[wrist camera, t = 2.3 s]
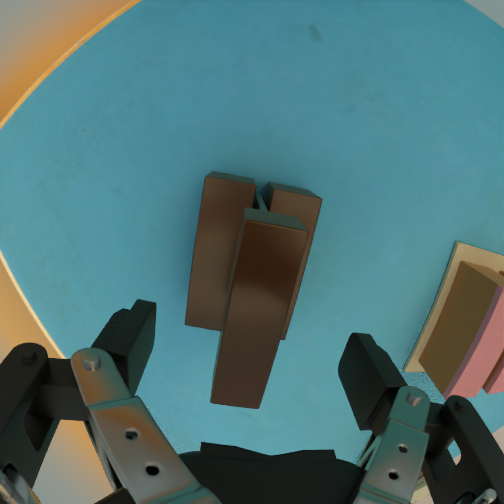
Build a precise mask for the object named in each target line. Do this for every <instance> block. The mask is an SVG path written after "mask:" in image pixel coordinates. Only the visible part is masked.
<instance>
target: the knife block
mask: <svg viewBox="0 0 504 504" xmlns="http://www.w3.org/2000/svg"><path fill="white" fill-rule="evenodd" d="M255 191H256V183H255V180H254V179H253V178H248V177H242V176H237V175H231V174H226V173H220V172H214V171H212V172H211V173H209V174H208V175H207V176H206V177H205V182H204V188H203V194H202V200H201V206H200V212H199V219H198V225H197V232H196V238H195V245H194V252H193V260H192V267H191V275H190V282H189V290H188V299H187V307H186V316H185V325H188V326H193V327H199V328H205V329H210V330H216V331H221V326H222V320H223V315H224V309H225V304H226V298H227V292H228V287H229V282H230V276H231V271H232V265H233V260H234V255H235V249H236V244H237V239H238V233H239V228H240V223H241V218H242V212H243V209H244V208H245V207H247V208H252V206H253V201H254V196H255ZM264 203H265V205H266V208H267V210H268V212H273V213H279V214H284V215H289V216H294V217H297V218H299V220H300V221H301V222H302V223H303V225H304V226H305V227H306V229H307V230H308V231H309V235H308V239H307V243H306V247H305V251H304V255H303V259H302V263H301V267H300V270H299V274H298V278H297V282H296V285H295V289H294V293H293V297H292V300H291V304H290V307H289V311H288V315H287V318H286V322H285V325H284V329H283V332H282V336H281V339H280V340H285V338H286V334H287V331H288V327H289V324H290V321H291V317H292V314H293V310H294V307H295V303H296V300H297V296H298V292H299V289H300V285H301V282H302V278H303V274H304V271H305V267H306V263H307V259H308V255H309V252H310V248H311V244H312V240H313V236H314V232H315V228H316V224H317V220H318V216H319V212H320V207H321V203H322V198H320V197H319V196H317V195H315V194H314V193H312V192H311V191H309V190H307V189H302V188H297V187H293V186H288V185H283V184H278V183H273V182H268V186H267V191H266V196H265V201H264Z"/></svg>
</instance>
